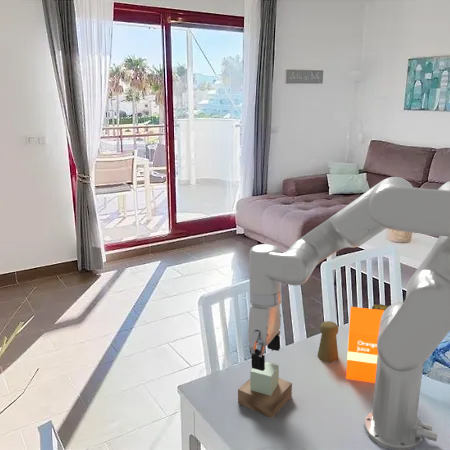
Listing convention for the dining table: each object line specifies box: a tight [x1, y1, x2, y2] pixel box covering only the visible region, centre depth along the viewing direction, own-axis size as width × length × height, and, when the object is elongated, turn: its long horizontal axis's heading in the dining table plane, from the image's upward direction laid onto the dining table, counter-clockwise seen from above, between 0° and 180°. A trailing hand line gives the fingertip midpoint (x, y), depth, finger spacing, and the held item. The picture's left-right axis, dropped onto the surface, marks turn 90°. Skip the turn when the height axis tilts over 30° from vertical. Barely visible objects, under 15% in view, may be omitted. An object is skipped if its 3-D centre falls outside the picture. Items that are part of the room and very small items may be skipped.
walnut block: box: [237, 377, 293, 419], centre depth 118 cm, size 10×10×4 cm
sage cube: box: [249, 361, 280, 396], centre depth 116 cm, size 6×6×6 cm
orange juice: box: [345, 306, 384, 384], centre depth 126 cm, size 8×9×20 cm
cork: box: [317, 320, 339, 363], centre depth 136 cm, size 6×6×11 cm
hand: (266, 358), depth 115 cm, fingers open, 9 cm apart
